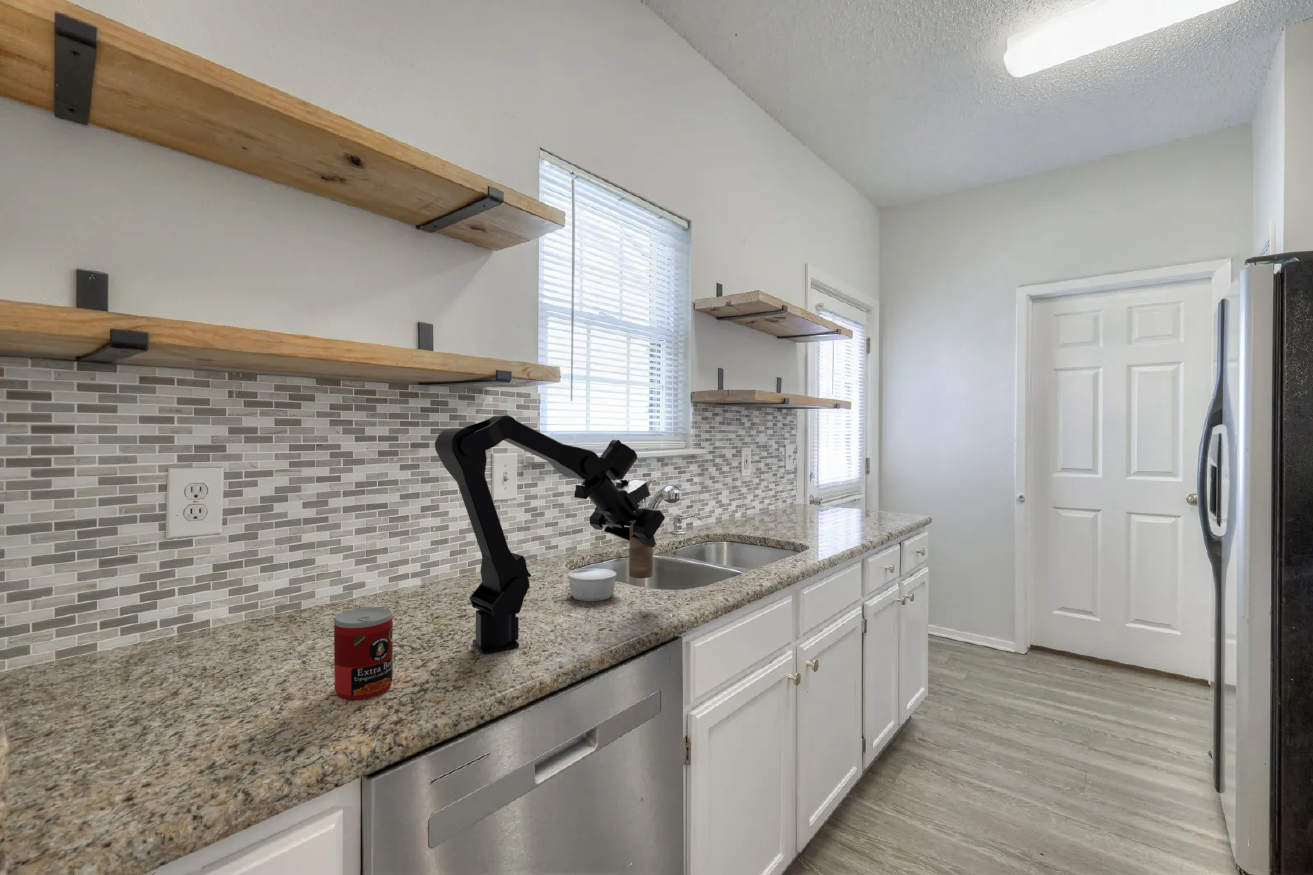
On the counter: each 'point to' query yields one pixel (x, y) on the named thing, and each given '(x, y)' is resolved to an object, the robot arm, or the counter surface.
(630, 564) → the pepper mill
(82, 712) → the counter surface
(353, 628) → the canned food
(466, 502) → the robot arm
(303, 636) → the counter surface
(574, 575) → the ramekin
